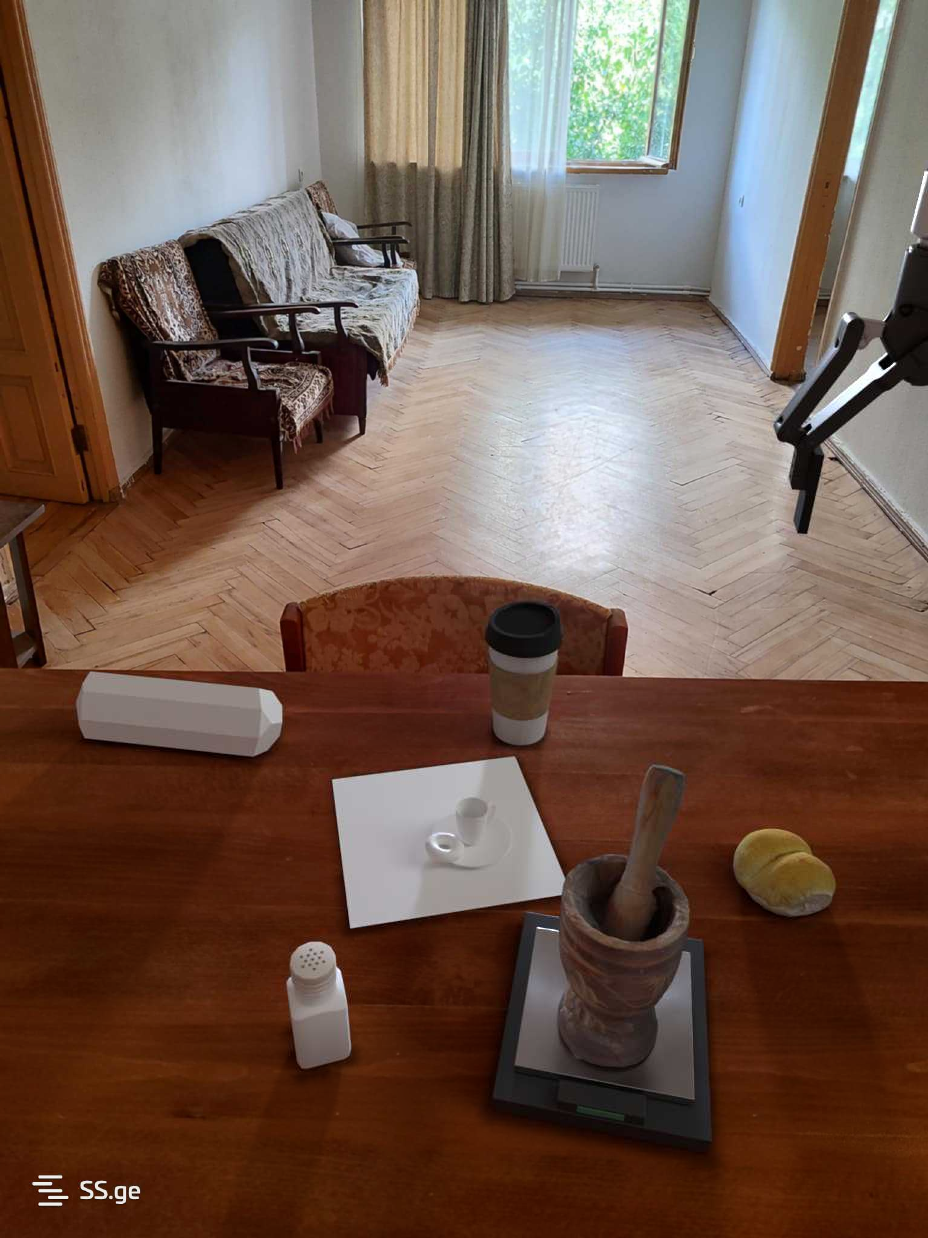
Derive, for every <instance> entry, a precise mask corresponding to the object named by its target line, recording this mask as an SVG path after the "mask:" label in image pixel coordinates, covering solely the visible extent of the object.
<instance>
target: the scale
mask: <svg viewBox="0 0 928 1238" xmlns="http://www.w3.org/2000/svg"><path fill="white" fill-rule="evenodd" d="M559 925H560V916H554V915H548V914H542V913H536V912H535V913H534V912H529V911H525V913H524V918H523V925H522V929H521V930H522V931H521V935H520V942H519V945H518V952H517V958H516V964H515V969H514V974H513V980H512V985H511V991H510V997H509V1002H508V1007H507V1008H508V1010H507V1014H506V1020H505V1024H504V1031H503V1036H502V1042H501V1047H500V1051H499V1059H498V1063H497V1064H498V1065H497V1069H496V1075H495V1080H494V1086H493V1092H492V1097H491V1099H492V1101H491V1111H493V1112H498V1113H504V1114H508V1115H513V1116H519V1117H524V1118H529V1119H533V1120H539V1121H544V1122H548V1123H553V1124H558V1125H564V1126H568V1127H574V1128H577V1129H583V1130H588V1131H593V1132H597V1133H602V1134H607V1135H613V1136H617V1137H622V1138H627V1139H632V1140H638V1141H642V1142H648V1143H652V1144H656V1145H657V1144H658V1145H662V1146H667V1147H673V1148H677V1149H682V1150H688V1151H693V1152H697V1153H701V1154H702V1153H703V1154H706V1155H708V1154H709V1153H710V1150H711V1146H712V1143H713V1139H712V1135H713V1134H712V1115H711V1114H712V1113H711V1092H710V1066H709V1045H708V1044H709V1043H708V1042H709V1041H708V1019H707V1017H708V1016H707V997H706V995H707V994H706V970H705V969H706V968H705V949H704V945H705V944H704V940H703V939H696V938H690V937H686V940H685V943H684V947H683V951H684V952H690V953H691V987H692V1025H693V1063H694V1103H693V1106H690V1105H685V1104H680V1103H675V1102H670V1101H664V1100H659V1099H654V1098H649V1097H646V1096H644V1095H639V1094H634V1093H628V1092H623V1091H618V1090H613V1089H608V1088H602V1087H597V1086H592V1085H587V1084H582V1083H576V1082H571V1081H566V1080H556V1079H550V1078H545V1077H540V1076H535V1075H530V1074H524V1073H519V1072H515V1071H514V1064H515V1058H516V1052H517V1046H518V1039H519V1033H520V1027H521V1021H522V1015H523V1009H524V1002H525V996H526V990H527V984H528V978H529V972H530V965H531V959H532V953H533V947H534V941H535V934H536V928H537V927H538V928H544V929H550V930H556V931H559Z"/></svg>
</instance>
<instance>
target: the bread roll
mask: <svg viewBox="0 0 928 1238" xmlns="http://www.w3.org/2000/svg"><path fill="white" fill-rule="evenodd" d="M732 869H733V873H734V874H733V875H734V877H735V880H736V881H737V883H738V884H739V885H740V886H741V888H743V889H745V890H746V892H747V893H748V895H749V897H750V898H751V900H753V901H754V902H755V903H757V904H758V905H759V906H761V907H762V908H763V909H765V910H767V911H768V912H769V911H770V912H771V913H774V914H776V915H780V916H784V917H789V918H793V917H799V916H808V915H811V914H814V913H817V912H820V911H822V910H824V909H826V908H828V906H829V905H831V903H832V901H833V896H834V893H835V891H836V888H837V884H836V878H835V875H834V874H833V873H834V872H833V871H832V870H831V868H830V867H829V865H827V864H826V863H825V862H823V861H822V860H821V859H819V858H818V857H816V856H814V855H813V852H812V850H811V847H810V846H809V844H807V842H806V841H804V839H802V837H800V836H799V835H797V834H795V833H793V832H791V831H788V830H783V829H780V828H764V829H758V830H755V831H753V832H750V833H748V834H747V835H745V837H744V838H743V839H742V840H741V841H740V842H739V844H738V846H737V847H736V850H735V852H734V856H733V864H732Z"/></svg>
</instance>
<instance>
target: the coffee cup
mask: <svg viewBox="0 0 928 1238" xmlns="http://www.w3.org/2000/svg"><path fill="white" fill-rule="evenodd" d="M488 618H489V619H488V623H487V626H486V628H485V631H484V640H485V642H486V644H487V645H488V651H487V663H488V675H489V689H490V700H491V707H492V708H491V711H492V728H493V732H494V735H495V736H496V737H497V738H498V739H499V740H501V741H502V742H504V743H506V744H509V745H512V746H527V745H532V744H535V743H537V742H539V741H540V740H541V739H542V738H543V737H544V736H545V732H546V728H547V721H548V716H549V709H550V705H551V701H552V694H553V690H554V684H555V679H556V673H557V668H558V663H559V654H558V651H559V649H560V648H561V646H562V645H563V642H564V630H563V628H562V617H561V614H560V612H559V610H558V609H557V608H556V606H554V605H552V604H549V603H547V602H543V601H540V600H534V599H533V600H531V599H528V600H527V599H526V600H519V601H518V600H517V601H514V602H510V603H507V604H504V605H502V606H500V607H498V608H497V609H495V610H494V611H493V612H492V613H491V614H490V615H489V617H488Z"/></svg>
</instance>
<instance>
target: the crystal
mask: <svg viewBox="0 0 928 1238" xmlns="http://www.w3.org/2000/svg"><path fill="white" fill-rule="evenodd" d="M75 706H76V712H77V713H76V714H77V720H78V727H79V729H80V731H81V733H82V735H83V738H84V739H90V740H98V741H107V742H115V743H127V744H135V745H145V746H153V747H163V748H171V749H181V750H190V751H200V752H207V753H208V752H209V753H218V754H227V755H234V756H242V757H243V756H244V757H245V756H246V757H251V758H253V757H256V756H258V755H260V754H263V753H265V752H267V751H269V749H270V748H271V747H272V746H273V745H274V743H275V742H276V741H277V740H278V739H279V738H280V736H281V732H282V726H283V704H282V703H281V701H280V700H279V699H278V697H277V696H276V694H275V693H274V691H272V690H268V689H264V688H260V687H252V686H251V687H249V686H241V685H240V686H239V685H229V684H222V683H221V684H219V683H210V682H200V681H190V680H182V679H181V680H180V679H169V678H160V677H149V676H141V675H140V676H139V675H129V674H120V673H118V674H117V673H109V672H99V671H89V673H88V674H87V676H86V677H85V679H84V681H83V682H82V684H81V687H80V689H79V693H78V696H77V697H76V701H75Z"/></svg>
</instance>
